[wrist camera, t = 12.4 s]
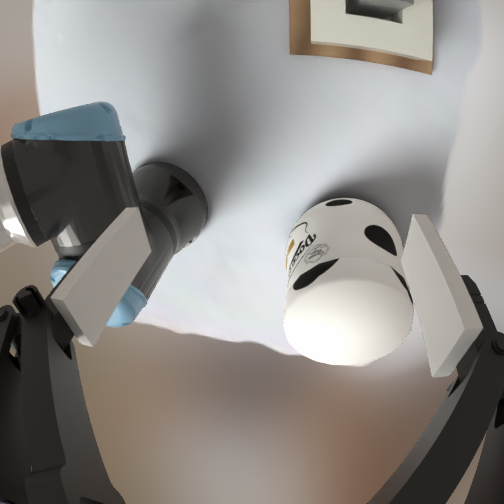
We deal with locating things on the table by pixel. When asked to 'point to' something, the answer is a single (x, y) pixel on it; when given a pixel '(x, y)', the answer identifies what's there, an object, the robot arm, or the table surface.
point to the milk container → (346, 284)
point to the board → (303, 46)
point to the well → (375, 29)
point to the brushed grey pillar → (377, 7)
